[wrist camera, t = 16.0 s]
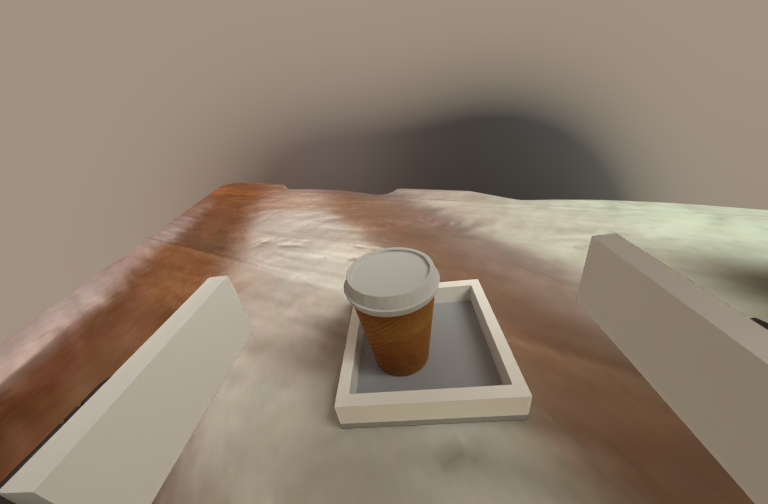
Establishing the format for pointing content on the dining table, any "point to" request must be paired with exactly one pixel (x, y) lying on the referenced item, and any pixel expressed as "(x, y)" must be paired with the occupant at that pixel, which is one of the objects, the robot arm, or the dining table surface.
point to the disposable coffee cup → (395, 305)
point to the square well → (437, 371)
